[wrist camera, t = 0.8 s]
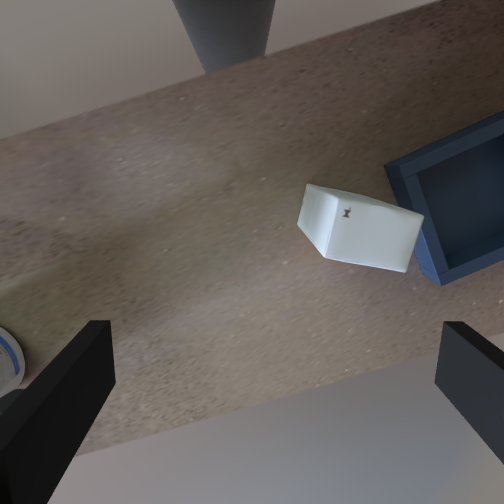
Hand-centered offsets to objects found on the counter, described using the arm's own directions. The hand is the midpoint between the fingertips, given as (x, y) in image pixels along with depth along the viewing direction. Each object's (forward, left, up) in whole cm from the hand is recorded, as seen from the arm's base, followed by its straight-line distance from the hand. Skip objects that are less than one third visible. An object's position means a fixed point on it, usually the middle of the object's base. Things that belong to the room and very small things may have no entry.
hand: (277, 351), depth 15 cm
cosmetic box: (+1, +7, -23) cm, 24 cm away
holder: (+5, +19, -22) cm, 30 cm away
